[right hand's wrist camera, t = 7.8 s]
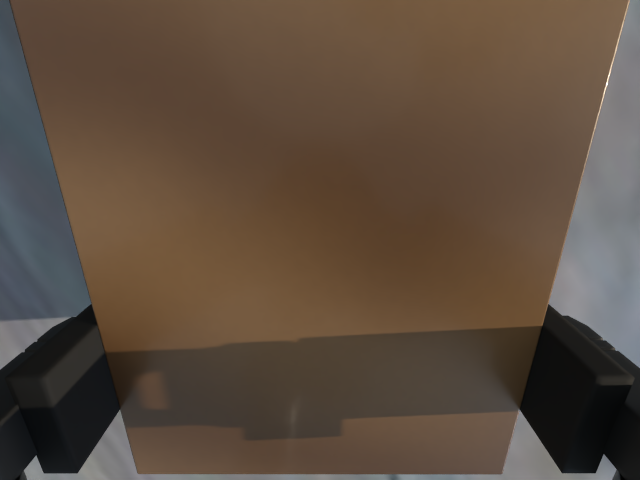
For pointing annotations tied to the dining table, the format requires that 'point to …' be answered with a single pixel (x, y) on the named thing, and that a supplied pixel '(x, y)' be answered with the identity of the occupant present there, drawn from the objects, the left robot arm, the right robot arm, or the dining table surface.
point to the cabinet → (319, 216)
